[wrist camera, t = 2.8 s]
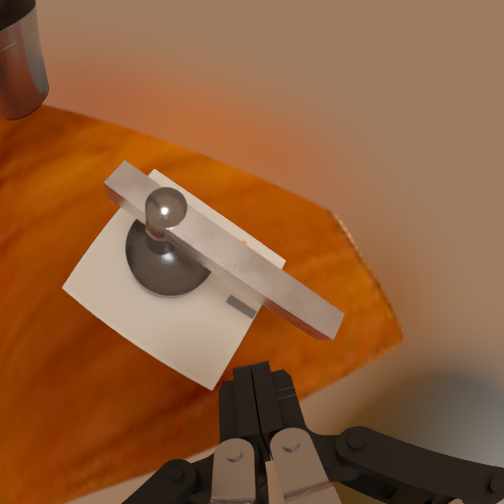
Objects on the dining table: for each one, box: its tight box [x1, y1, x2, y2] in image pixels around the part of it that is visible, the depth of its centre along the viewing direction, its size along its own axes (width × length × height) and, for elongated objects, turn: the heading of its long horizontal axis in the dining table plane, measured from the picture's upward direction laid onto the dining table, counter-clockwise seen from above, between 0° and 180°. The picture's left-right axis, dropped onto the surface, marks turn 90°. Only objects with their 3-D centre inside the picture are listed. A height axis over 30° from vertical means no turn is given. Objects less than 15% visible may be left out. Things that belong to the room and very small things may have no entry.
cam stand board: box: [62, 169, 286, 390], centre depth 30 cm, size 20×18×1 cm
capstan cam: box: [104, 161, 344, 340], centre depth 25 cm, size 21×9×12 cm, turn 59°
